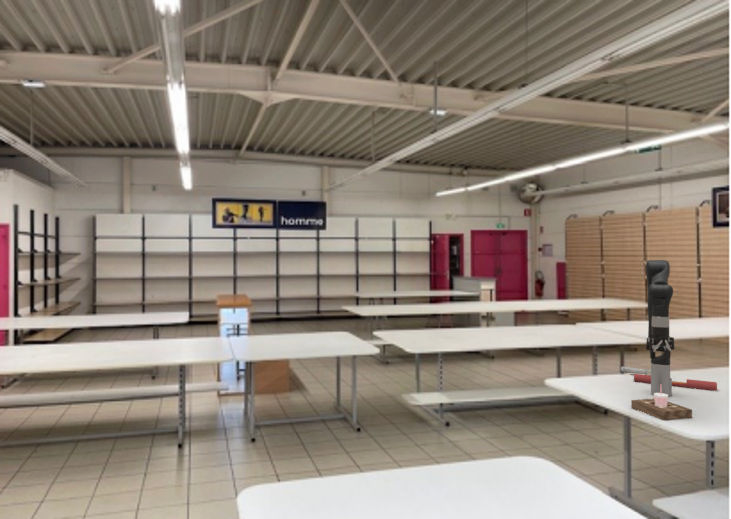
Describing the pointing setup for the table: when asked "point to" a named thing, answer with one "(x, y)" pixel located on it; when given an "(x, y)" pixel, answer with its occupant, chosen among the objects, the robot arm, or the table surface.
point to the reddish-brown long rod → (688, 384)
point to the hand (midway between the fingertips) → (660, 358)
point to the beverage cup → (661, 398)
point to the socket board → (662, 409)
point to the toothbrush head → (635, 370)
